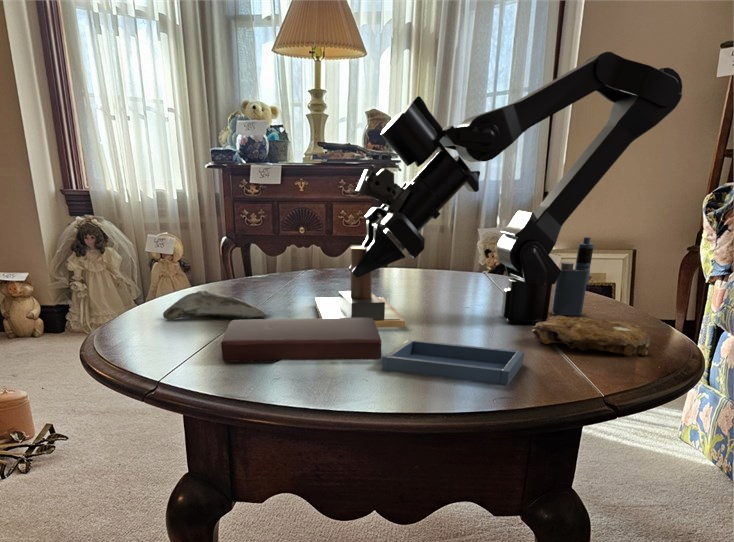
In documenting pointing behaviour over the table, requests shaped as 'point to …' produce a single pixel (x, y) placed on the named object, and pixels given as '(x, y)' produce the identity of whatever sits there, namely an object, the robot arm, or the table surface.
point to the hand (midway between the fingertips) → (352, 273)
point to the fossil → (210, 306)
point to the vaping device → (573, 282)
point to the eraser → (361, 293)
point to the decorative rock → (593, 334)
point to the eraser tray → (454, 361)
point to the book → (301, 339)
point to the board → (332, 310)
